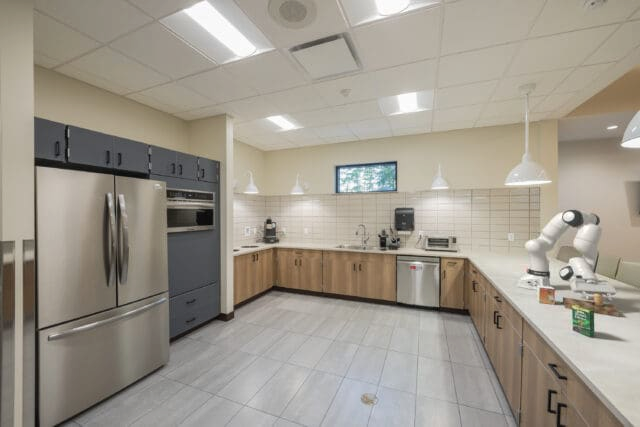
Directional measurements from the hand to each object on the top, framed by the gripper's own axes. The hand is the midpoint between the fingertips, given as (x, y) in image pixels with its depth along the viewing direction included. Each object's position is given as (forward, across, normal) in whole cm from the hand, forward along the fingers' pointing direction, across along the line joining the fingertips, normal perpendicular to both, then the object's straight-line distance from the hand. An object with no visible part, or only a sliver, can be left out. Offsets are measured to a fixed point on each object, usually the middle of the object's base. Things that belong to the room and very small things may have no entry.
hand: (599, 299), depth 152 cm
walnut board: (+3, +4, -6) cm, 8 cm away
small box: (0, +23, -11) cm, 25 cm away
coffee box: (+31, +28, +21) cm, 47 cm away
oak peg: (+4, 0, -5) cm, 7 cm away
